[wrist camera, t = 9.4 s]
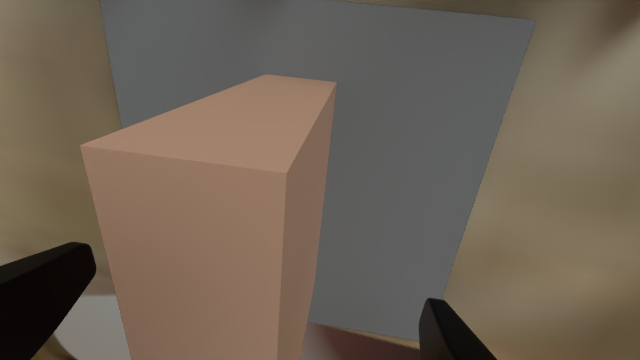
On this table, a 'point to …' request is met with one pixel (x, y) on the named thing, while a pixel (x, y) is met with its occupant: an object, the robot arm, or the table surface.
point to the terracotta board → (217, 220)
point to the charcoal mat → (348, 124)
